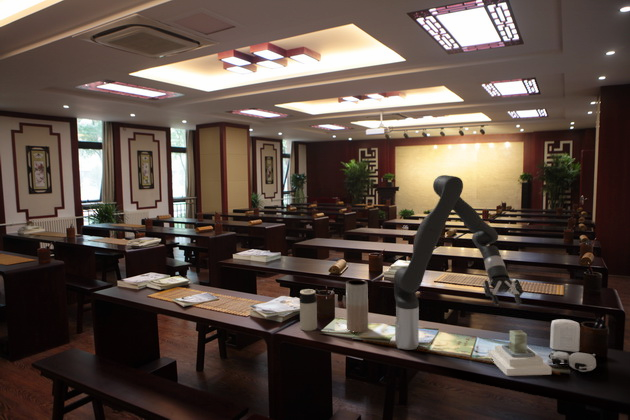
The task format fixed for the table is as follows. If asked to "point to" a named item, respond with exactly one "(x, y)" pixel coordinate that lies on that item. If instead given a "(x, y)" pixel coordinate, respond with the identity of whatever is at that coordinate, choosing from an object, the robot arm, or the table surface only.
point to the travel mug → (308, 310)
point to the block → (518, 341)
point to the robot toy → (574, 360)
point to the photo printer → (565, 335)
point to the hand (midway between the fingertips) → (508, 304)
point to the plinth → (519, 368)
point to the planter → (357, 305)
